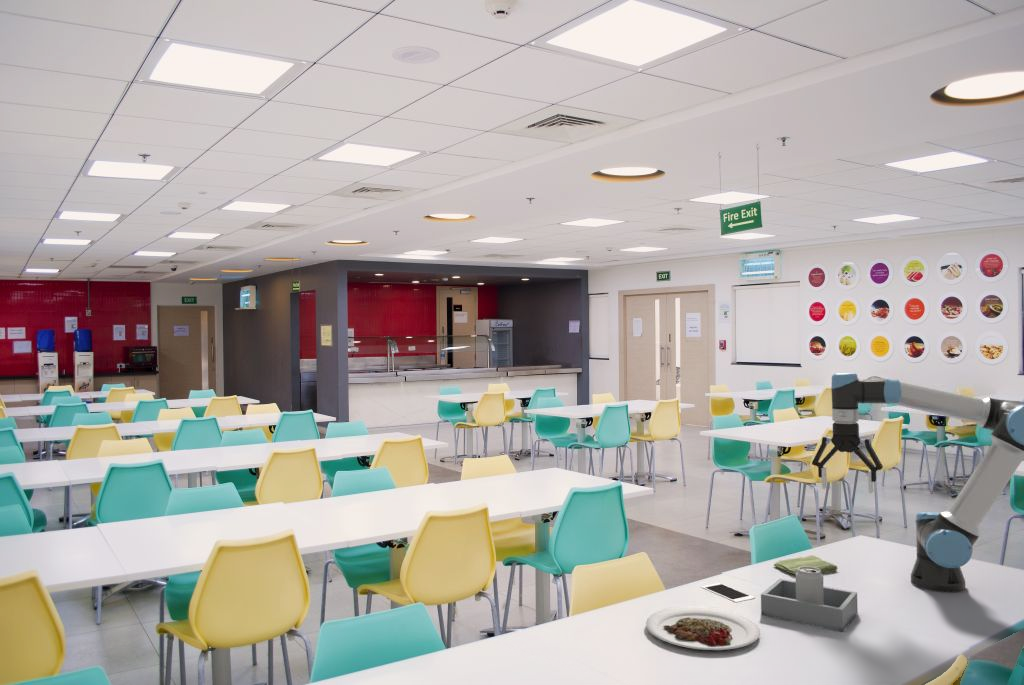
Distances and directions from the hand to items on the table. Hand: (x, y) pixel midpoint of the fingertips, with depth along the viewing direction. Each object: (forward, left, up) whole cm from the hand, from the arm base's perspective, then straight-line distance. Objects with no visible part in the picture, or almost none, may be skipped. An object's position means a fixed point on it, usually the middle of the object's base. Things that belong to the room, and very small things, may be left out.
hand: (847, 490), depth 234 cm
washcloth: (+17, -14, -32) cm, 39 cm away
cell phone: (+30, +23, -32) cm, 50 cm away
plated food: (+24, +57, -32) cm, 70 cm away
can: (+4, +28, -31) cm, 41 cm away
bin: (+4, +28, -31) cm, 42 cm away
